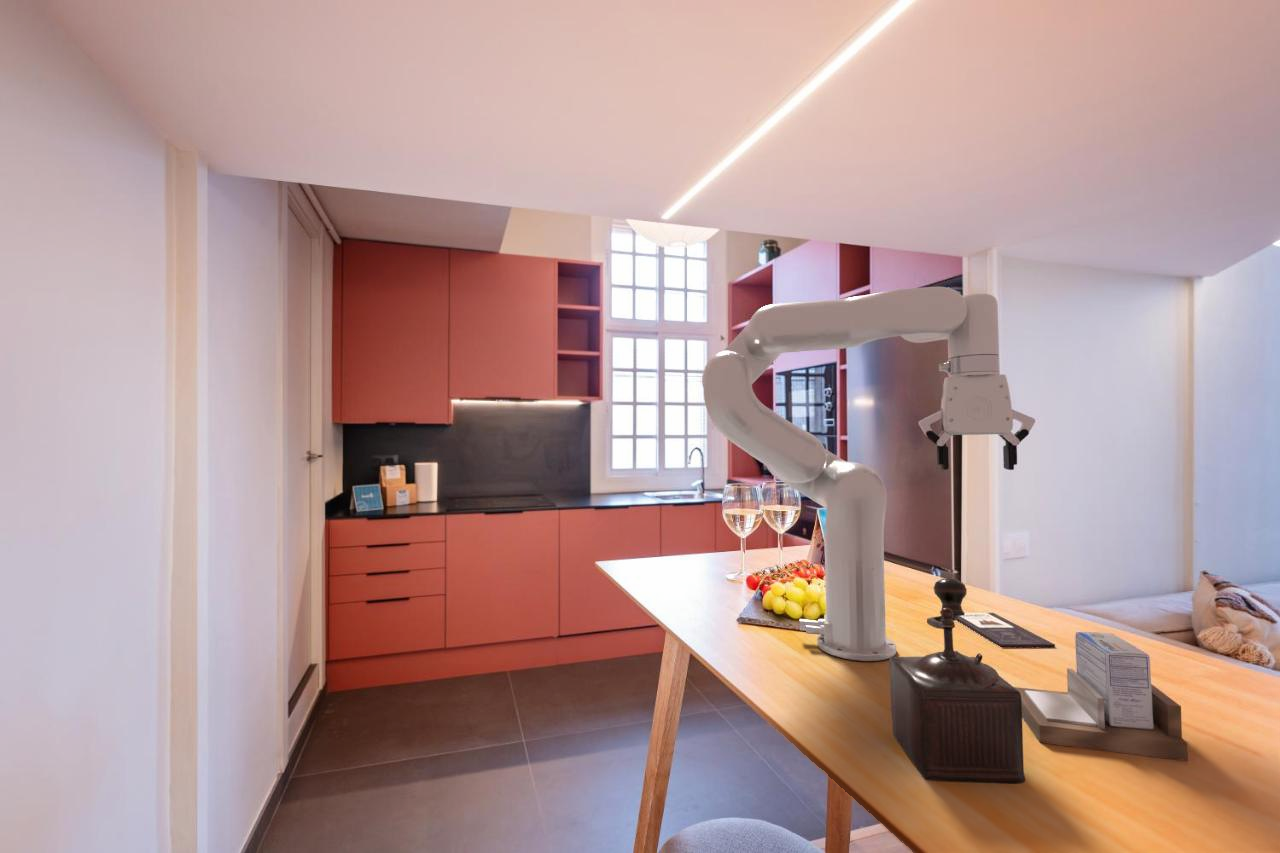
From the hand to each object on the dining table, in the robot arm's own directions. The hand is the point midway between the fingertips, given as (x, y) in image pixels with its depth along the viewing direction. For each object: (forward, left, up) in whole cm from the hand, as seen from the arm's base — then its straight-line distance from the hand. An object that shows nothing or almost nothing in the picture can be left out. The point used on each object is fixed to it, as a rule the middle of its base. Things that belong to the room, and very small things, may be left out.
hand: (976, 469), depth 98 cm
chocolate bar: (+5, +12, -31) cm, 34 cm away
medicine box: (+8, -26, -28) cm, 39 cm away
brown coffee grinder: (-12, -35, -31) cm, 48 cm away
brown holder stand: (+6, -26, -30) cm, 40 cm away
